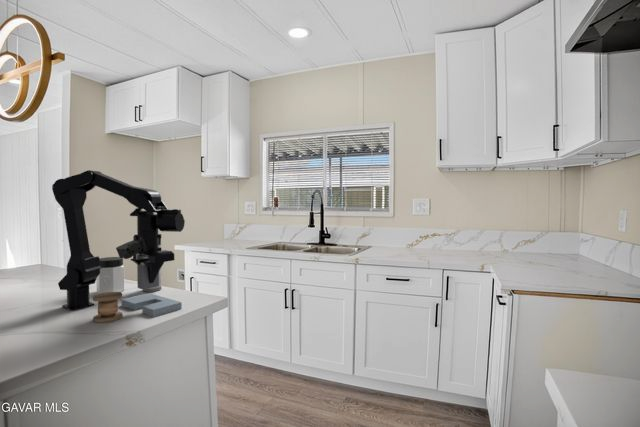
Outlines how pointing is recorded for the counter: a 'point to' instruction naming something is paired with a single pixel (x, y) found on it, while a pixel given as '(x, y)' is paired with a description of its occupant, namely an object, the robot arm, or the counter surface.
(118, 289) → the jar
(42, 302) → the counter surface
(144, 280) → the grey block
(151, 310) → the notched board
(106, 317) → the bobbin
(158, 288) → the travel mug
